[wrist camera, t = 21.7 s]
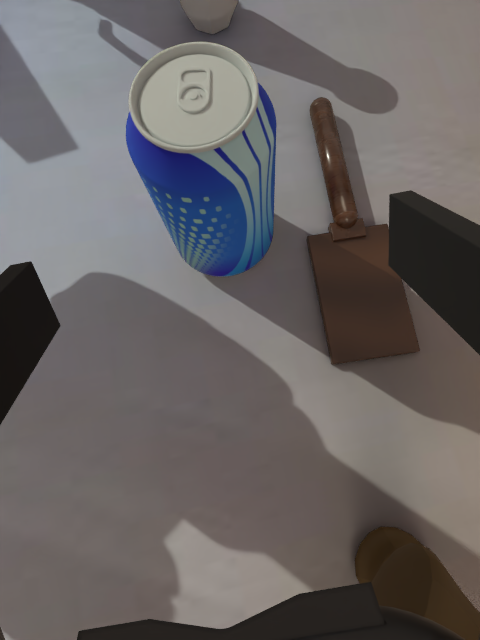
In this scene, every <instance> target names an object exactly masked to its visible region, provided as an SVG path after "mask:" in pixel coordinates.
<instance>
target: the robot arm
mask: <svg viewBox="0 0 480 640" xmlns="http://www.w3.org/2000/svg"><path fill="white" fill-rule="evenodd" d="M388 265H389V266H390V267H391V268H392V269H393V270H394V271H395V272H396V273H397V274H398V275H399V276H400V277H401V278H402V279H403V280H404V281H405V282H406V283H407V284H408V285H409V286H410V287H411V288H412V289H413V290H414V291H415V292H416V293H417V294H418V295H419V296H420V297H421V298H422V299H423V300H424V301H425V302H426V303H427V304H428V305H429V306H430V307H431V308H432V309H433V310H434V311H435V312H436V313H437V314H438V315H439V316H441V317H442V318H443V319H444V320H445V321H446V322H447V323H448V324H449V325H450V326H451V327H452V328H453V329H454V330H455V331H456V332H457V333H458V334H459V335H460V336H461V337H462V338H463V339H464V340H465V341H466V342H467V343H468V344H469V345H470V346H471V347H472V348H473V349H474V350H475V351H476V352H477V353H478V354H479V355H480V225H478V224H476V223H474V222H472V221H470V220H468V219H466V218H464V217H462V216H460V215H458V214H456V213H454V212H452V211H450V210H448V209H446V208H444V207H442V206H440V205H438V204H437V203H435V202H433V201H431V200H429V199H427V198H425V197H423V196H421V195H419V194H417V193H415V192H413V191H406V192H400V193H395V194H390V203H389V259H388ZM59 327H60V323H59V321H58V319H57V317H56V315H55V312H54V310H53V308H52V306H51V304H50V301H49V299H48V297H47V295H46V293H45V290H44V288H43V286H42V284H41V282H40V279H39V277H38V275H37V273H36V271H35V268H34V266H33V264H32V262H25V263H20V264H15V265H10V266H9V267H8V268H7V269H6V270H5V271H4V272H3V273H2V274H1V275H0V424H1V423H2V421H3V420H4V418H5V416H6V415H7V413H8V411H9V410H10V408H11V406H12V405H13V403H14V401H15V400H16V398H17V396H18V395H19V393H20V391H21V390H22V388H23V386H24V385H25V383H26V382H27V380H28V378H29V377H30V375H31V373H32V372H33V370H34V368H35V367H36V365H37V363H38V362H39V360H40V358H41V357H42V355H43V353H44V352H45V350H46V349H47V347H48V345H49V344H50V342H51V340H52V339H53V337H54V335H55V334H56V332H57V330H58V329H59ZM0 640H5V638H4V635H3V633H2V630H1V628H0ZM77 640H465V639H464V638H462V637H461V636H459V635H458V634H456V633H455V632H453V631H451V630H449V629H448V628H446V627H444V626H442V625H440V624H438V623H436V622H434V621H432V620H430V619H427V618H425V617H422V616H420V615H417V614H415V613H412V612H409V611H405V610H401V609H397V608H394V607H387V606H380V605H379V604H378V601H377V598H376V595H375V592H374V589H373V586H372V583H371V582H367V583H361V584H355V585H349V586H343V587H338V588H332V589H326V590H320V591H314V592H308V593H302V594H298V595H296V596H294V597H292V598H290V599H288V600H285V601H283V602H281V603H279V604H277V605H275V606H273V607H271V608H269V609H267V610H265V611H263V612H261V613H259V614H257V615H255V616H253V617H251V618H248V619H246V620H244V621H242V622H240V623H238V624H236V625H234V626H232V627H229V628H226V629H214V628H207V627H201V626H194V625H187V624H180V623H173V622H166V621H159V620H152V619H147V620H141V621H135V622H129V623H123V624H118V625H112V626H106V627H100V628H94V629H88V630H82V631H79V632H78V637H77ZM478 640H480V633H479V638H478Z"/></svg>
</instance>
